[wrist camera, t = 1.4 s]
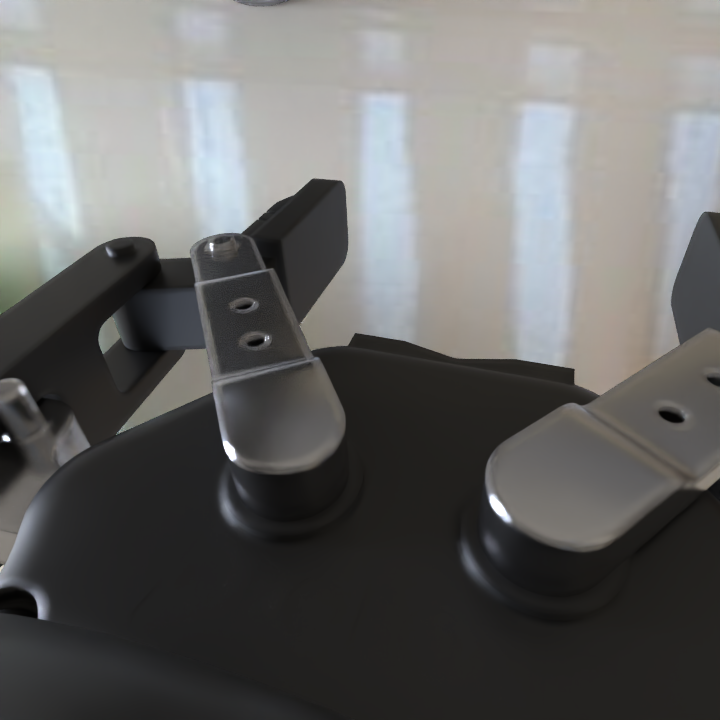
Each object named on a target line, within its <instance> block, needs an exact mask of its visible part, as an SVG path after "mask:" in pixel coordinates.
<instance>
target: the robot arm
mask: <svg viewBox="0 0 720 720" xmlns="http://www.w3.org/2000/svg"><path fill="white" fill-rule="evenodd" d="M234 1H237V2H239V3H242V4H246V5H251V6H272V5H276V4H280V3H283V2H286V1H288V0H234ZM347 251H348V226H347V208H346V191H345V186H344V184H343V182H342V181H338V180H326V179H312V180H310V181H309V182H308V183H307V184H306V185H305V186H304V187H303V188H302V189H301V190H299V191H298V192H297V193H296V194H295V195H294V196H291V197H288V198H286V199H284V200H281V201H279V202H277V203H276V204H274V205H273V206H272V207H271V208H270V209H269V210H268V211H267V213H264V214H263V215H262V216H261V217H260V218H259V220H256V221H255V222H254V223H253V224H252V225H251V226H249V227H248V228H247V229H246V230H245V231H244V232H243V233H241V234H238V233H224V234H218V235H213V236H209V237H207V238H204V239H202V240H200V241H198V242H197V243H195V244H194V245H193V246H192V247H191V249H190V255H191V258H177V259H159V256H158V253H157V249H156V246H155V243H154V242H153V241H152V240H150V239H147V238H143V237H126V238H118V239H114V240H112V241H108V242H106V243H103V244H101V245H99V246H97V247H96V248H94V249H93V250H91V251H90V252H89V253H87V254H86V255H84V256H83V257H82V258H80V259H79V260H77V261H76V262H75V263H73V264H72V265H70V266H69V267H68V268H66V269H65V270H63V271H62V272H60V273H59V274H58V275H56V276H55V277H53V278H52V279H51V280H49V281H48V282H46V283H45V284H44V285H42V286H41V287H39V288H38V289H37V290H35V291H34V292H32V293H31V294H29V295H28V296H27V297H25V298H24V299H22V300H21V301H20V302H18V303H17V304H15V305H14V306H13V307H11V308H10V309H8V310H7V311H6V312H4V313H3V314H1V315H0V567H1V566H2V565H4V567H3V569H2V570H1V572H0V720H720V213H715V212H704V213H703V214H702V215H701V217H700V218H699V220H698V222H697V224H696V227H695V229H694V232H693V235H692V237H691V240H690V243H689V245H688V248H687V251H686V253H685V256H684V258H683V261H682V264H681V266H680V269H679V272H678V274H677V277H676V280H675V283H674V287H673V291H672V298H671V306H672V311H673V315H674V320H675V324H676V329H677V333H678V337H679V342H680V345H679V346H678V347H676V348H675V349H673V350H672V351H670V352H668V353H667V354H665V355H664V356H662V357H661V358H659V359H657V360H656V361H654V362H653V363H651V364H650V365H648V366H646V367H645V368H643V369H642V370H640V371H639V372H637V373H635V374H634V375H632V376H631V377H629V378H628V379H626V380H625V381H623V382H621V383H620V384H618V385H617V386H615V387H614V388H612V389H610V390H609V391H607V392H606V393H604V394H603V395H601V396H599V395H598V394H596V393H594V392H591V391H589V390H587V389H584V388H582V387H579V386H577V385H574V371H575V369H572V368H565V367H559V366H553V365H547V364H541V363H535V362H529V361H523V360H517V359H457V358H452V357H449V356H446V355H443V354H440V353H438V352H435V351H432V350H429V349H426V348H423V347H420V346H417V345H414V344H412V343H409V342H406V341H401V340H395V339H388V338H382V337H376V336H370V335H364V334H358V333H355V334H354V336H353V338H352V340H351V341H350V343H349V345H348V346H336V347H327V348H321V349H316V350H312V351H311V350H310V348H309V346H308V343H307V341H306V339H305V337H304V335H303V332H302V330H301V328H300V326H299V324H300V323H301V321H302V320H303V319H304V317H305V316H306V315H307V313H308V312H309V310H310V309H311V308H312V306H313V305H314V304H315V302H316V301H317V299H318V298H319V297H320V295H321V294H322V293H323V291H324V290H325V288H326V287H327V286H328V284H329V283H330V282H331V280H332V279H333V277H334V276H335V275H336V273H337V272H338V271H339V269H340V268H341V266H342V265H343V264H344V262H345V259H346V256H347ZM111 316H113V319H114V321H115V324H116V326H117V329H118V332H119V334H120V337H121V338H120V339H119V340H118V341H117V342H116V343H115V344H114V345H113V346H112V347H111V348H110V349H108V350H107V351H106V352H105V353H104V354H102V351H101V349H100V346H99V342H98V336H99V331H100V328H101V326H102V325H103V323H104V322H105V321H106V320H107V319H109V318H110V317H111ZM185 349H207V354H208V359H209V365H210V370H211V375H212V388H213V392H212V393H210V394H208V395H206V396H203V397H201V398H199V399H197V400H194V401H192V402H190V403H187V404H185V405H183V406H181V407H178V408H176V409H174V410H172V411H169V412H167V413H165V414H163V415H160V416H158V417H156V418H153V419H151V420H149V421H147V422H144V423H142V424H140V425H138V426H135V427H133V428H131V429H129V430H126V431H124V432H122V433H119V434H117V432H118V431H119V430H120V429H121V428H122V426H123V425H124V424H125V423H126V422H127V421H128V419H129V418H130V417H131V416H132V415H133V413H134V412H135V411H136V410H137V409H138V408H139V406H140V405H141V404H142V403H143V402H144V400H145V399H146V398H147V397H148V396H149V395H150V393H151V392H152V391H153V390H154V389H155V387H156V386H157V385H158V384H159V383H160V382H161V380H162V379H163V378H164V377H165V376H166V374H167V373H168V372H169V371H170V370H171V369H172V367H173V366H174V365H175V364H176V363H177V361H178V360H179V359H180V358H181V357H182V355H183V354H184V352H185ZM116 434H117V435H116Z"/></svg>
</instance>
